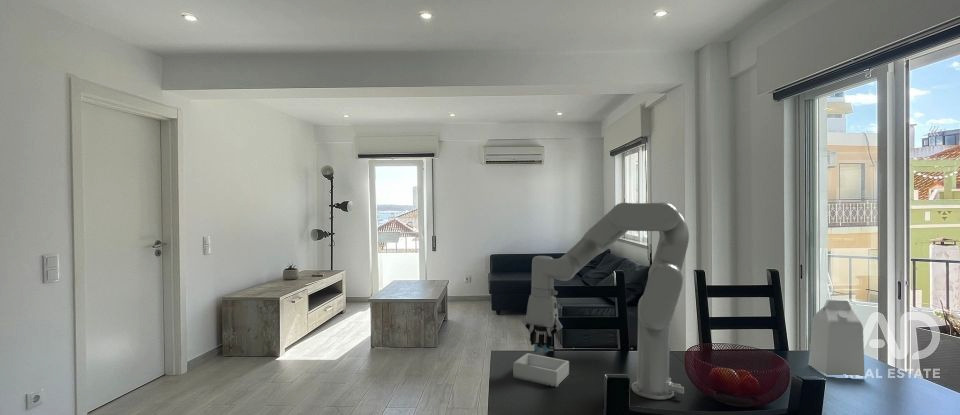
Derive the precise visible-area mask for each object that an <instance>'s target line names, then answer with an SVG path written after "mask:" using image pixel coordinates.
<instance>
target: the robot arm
mask: <svg viewBox="0 0 960 415" xmlns="http://www.w3.org/2000/svg"><path fill="white" fill-rule="evenodd" d="M630 231H632V232H658V233H659V237H658V238H659V239H658V241H657V247H656V251H655V253H654V257H653V259H652V264H651V265H650V267H649V270H648V276H647V281H646V285H645V287H644V291H643V294H642V295H641V297H640V298H639V299H638V303H637V345H636V346H637V348H636V349H637V353H636V354H637V358H636V361H637V362H636V381H634V382H633V383H632V384H631V390H632V392H633V393H634V394H636V395H638V396H640V397H643V398H647V399H652V400H668V399H671V398H673V397H674V395H675V392H676V393H680V394H685V387H684V386H682V385H681V384H680V383H674V382H673V381H672V378H671V377H670V346H671V322H672V320H673V317H674V314H675V311H676V309H677V308H676V307H677V305H678V302H679V298H680V295H681V291H682V289H683V288H682V287H683V283H684V282H683V279H684V277H683V274H682V271H683V270H682V269H683V265H684V262H685V258H686V254H687V249H688V246H689V241H690V239H689V238H690V233H689V227H688V224H687V222H686V220H685V218H684V216H683V215H682V214H681V213H680V212H679V211H678V209H677V207H676V206H674V205H673V204H672V203H668V202H663V201H662V202H646V203H645V202H643V203H642V202H640V203H639V202H637V203H636V202H620V203H617V204H616V205H614V206H613V208H612V209H610V210H609V211H608V212H606V214H605V215H603V217H602V218H601V219H600V220H598V221H597V222H596V223H595V224H593V226H591V227H590V228H589V229H588V230H587V231H586V232H585V233H584V235H583V236H582V237H581V239H580V240H579V241H578V242H577V243H575V244H574V245H573V247H571V248H570V249H569V250H568V251H567V252H566V253H564V254H563V255H562V256H561V257H559V258H553V257H552V256H548V255H537V256H534V257H533V258H532V261H531V288H530V289H531V290H530V291H531V292H530V294H529V297H528V300H527V301H528V302H527V307H526V314H525V316H524V317H523V318H522V319H521V323H522V324H523V325H524V326H525V328H526V329H527V330H528V333H529V342H530V346H534V343H535V341H536V330H535V329H534V325H536V326H542V327H547V338H546V347H547V348H548V349H550V348H549V347H551V348H552V347H553V343H554V335H556V333H557V332H558V331H560V330H561V329H563V328H564V327H563V325H562V322H560V320H559V310H558V302H557V297H556V296H557V295H558V290H555V287H554V286H555V284H554V283H555V280H558V281H562V282H567V281H570V280H572V279H573V278H574V276H576V275H577V273H579V271H581V270H582V269H583V268H584V267H585V266H586V265H588V264H589V262H591V261H592V260H593V259H594V258H596V257H597V256H599V255H600V254H603V253H604V252H605V251H607V250H608V249H609V248H611V246H613V244H615V243H616V242H617V241H618V240H620V238H622V236H624V235H625V234H626V233H627V232H630ZM554 326H556V327H555V328H554Z"/></svg>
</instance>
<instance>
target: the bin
mask: <svg viewBox="0 0 960 415" xmlns="http://www.w3.org/2000/svg"><path fill="white" fill-rule="evenodd" d="M512 366H513V367H512V369H513V370H512V371H513V372H512V374H513V375H512V378H514V379H519V380H523V381H528V382H532V383H537V384H540V385H545V386H549V385H550V387H554V386H555V387H554V388H558V387H559V384H560V383H561V382H562V381H563V380H564V379H565V378H566V377H567V376H568V375H570V361H569V360H565V359H560V358H555V357H549V356H544V355H539V354H534V353H529V352H528V353H525V354H524V355H522V356H521V357H520V358H518V359H517V360H515V361H514V362H513V364H512ZM568 377H569V376H568ZM568 377H567V378H568ZM567 378H566V379H567ZM566 379H565V380H566ZM565 380H564V381H565ZM564 381H563V382H564ZM561 384H562V383H561ZM561 384H560V385H561Z"/></svg>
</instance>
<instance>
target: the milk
mask: <svg viewBox="0 0 960 415" xmlns="http://www.w3.org/2000/svg"><path fill="white" fill-rule="evenodd" d="M812 318H813V319H812V325H811V333H810V334H811V336H810V337H811V338H810V347H809V356H808V357H809V358H808V365H810V366H812V367H814V368H816V369H817V370H819V371H821V372H823V373H825V374H827V375H843V374H846V375H860V376H866V375H865V373H866V372H865V351H864V350H865V349H864V348H865V347H864V346H865V345H864V327H863V324H862V322H861V320H860V319H859V317H858V316H857V314H856V313H855V312H854V310H853V309H852V306H851V305H850V302H849V301H848V300H847V299H828V298H827V299H826V301H825V303H824V306H823V307H822V308H821V309H819V311H817V312H816V313H815V314H814V315H813V317H812Z"/></svg>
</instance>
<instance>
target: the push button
mask: <svg viewBox="0 0 960 415" xmlns="http://www.w3.org/2000/svg"><path fill="white" fill-rule="evenodd" d="M534 329H535V331H536V341H535V343H534V345H533V346H534V350H533V351H534V353H549V352H551V351H552V352H553V351H554V346H551V347H549V348H547V347H546V338H547V336H548V332H547V327H542V326H536V325H534Z"/></svg>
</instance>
